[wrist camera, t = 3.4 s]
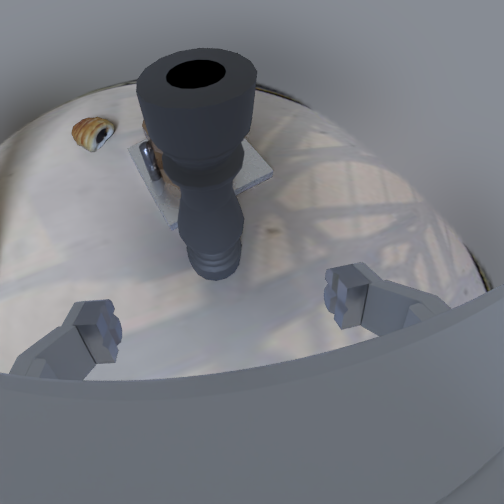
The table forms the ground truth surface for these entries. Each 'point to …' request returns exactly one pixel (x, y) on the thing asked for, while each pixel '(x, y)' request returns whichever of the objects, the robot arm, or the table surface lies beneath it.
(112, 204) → the table surface
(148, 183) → the collar stand
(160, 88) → the candle holder
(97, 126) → the pastry
